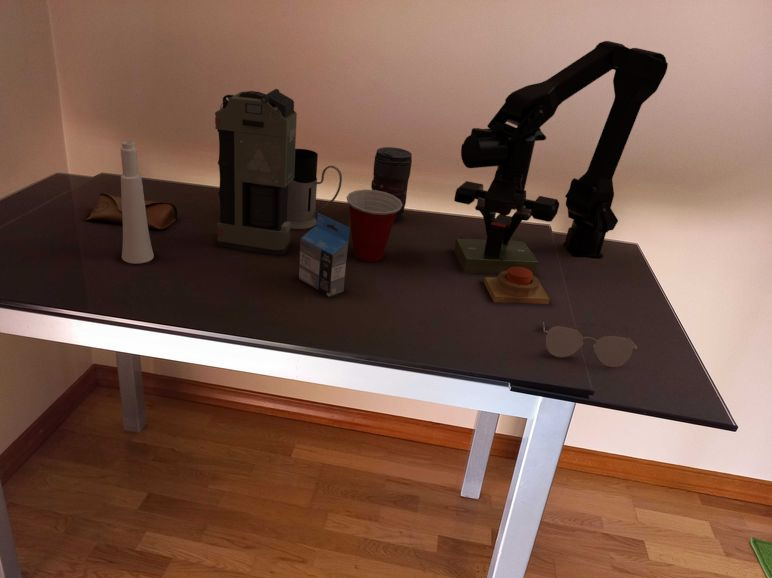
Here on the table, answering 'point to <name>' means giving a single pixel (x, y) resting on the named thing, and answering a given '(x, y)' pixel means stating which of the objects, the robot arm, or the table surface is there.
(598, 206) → the robot arm
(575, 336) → the sunglasses
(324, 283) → the ink cartridge box
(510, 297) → the button block
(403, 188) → the camera lens
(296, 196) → the glass holder
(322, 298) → the table surface
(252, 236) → the device
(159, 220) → the sunglasses case
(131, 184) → the cosmetic bottle
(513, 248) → the panel
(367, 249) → the plastic cup
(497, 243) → the selector
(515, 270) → the button
